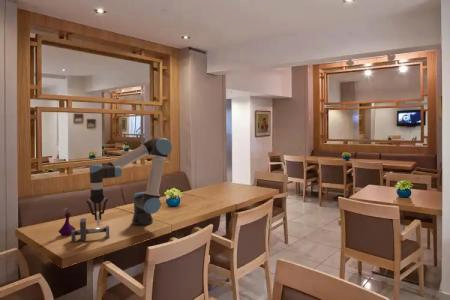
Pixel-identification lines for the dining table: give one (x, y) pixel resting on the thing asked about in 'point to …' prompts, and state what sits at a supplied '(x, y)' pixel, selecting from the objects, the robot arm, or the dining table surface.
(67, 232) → the perfume bottle
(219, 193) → the dining table surface
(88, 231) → the pipe stand
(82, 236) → the collar
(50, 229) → the dining table surface
